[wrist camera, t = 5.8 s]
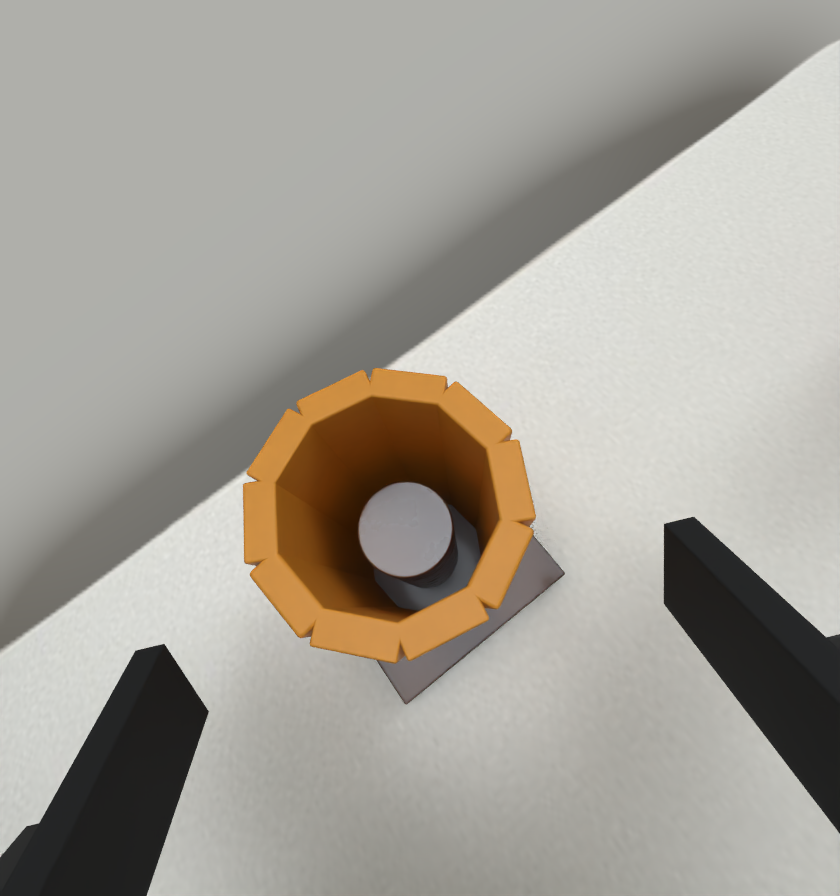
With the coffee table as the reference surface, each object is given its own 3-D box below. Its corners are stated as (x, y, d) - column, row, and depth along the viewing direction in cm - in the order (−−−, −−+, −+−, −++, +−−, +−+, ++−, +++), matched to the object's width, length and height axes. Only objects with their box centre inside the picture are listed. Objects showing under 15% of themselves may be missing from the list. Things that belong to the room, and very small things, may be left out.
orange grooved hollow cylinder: (363, 642, 21) (244, 684, 10) (350, 495, 23) (240, 389, 12) (510, 621, 21) (563, 639, 10) (482, 473, 23) (499, 345, 12)
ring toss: (408, 701, 21) (368, 765, 13) (302, 539, 24) (212, 503, 15) (561, 574, 22) (620, 555, 14) (443, 434, 25) (432, 345, 16)
